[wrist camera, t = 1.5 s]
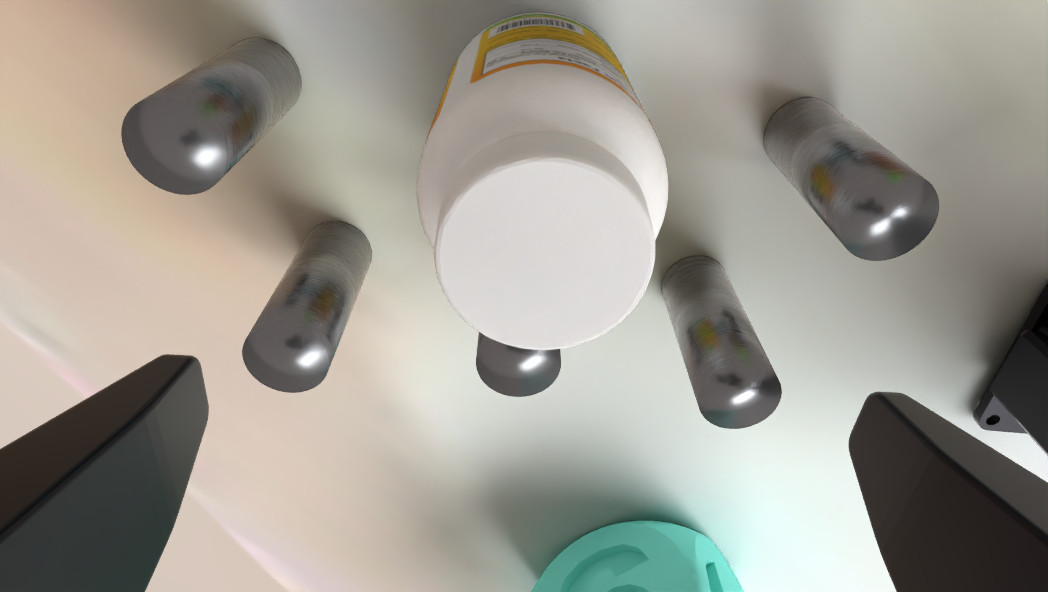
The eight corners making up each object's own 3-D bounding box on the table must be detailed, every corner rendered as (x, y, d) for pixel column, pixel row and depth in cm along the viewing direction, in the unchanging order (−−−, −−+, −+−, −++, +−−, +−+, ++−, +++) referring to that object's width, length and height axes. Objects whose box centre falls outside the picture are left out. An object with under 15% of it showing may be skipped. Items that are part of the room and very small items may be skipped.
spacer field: (930, -137, 18) (1097, -140, 12) (773, 319, 25) (838, 437, 20) (189, -231, 17) (39, -276, 12) (246, 271, 24) (170, 382, 19)
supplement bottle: (531, 222, 23) (534, 425, 14) (408, 100, 21) (329, 255, 12) (665, 110, 21) (758, 270, 13) (544, -36, 19) (559, 39, 11)
